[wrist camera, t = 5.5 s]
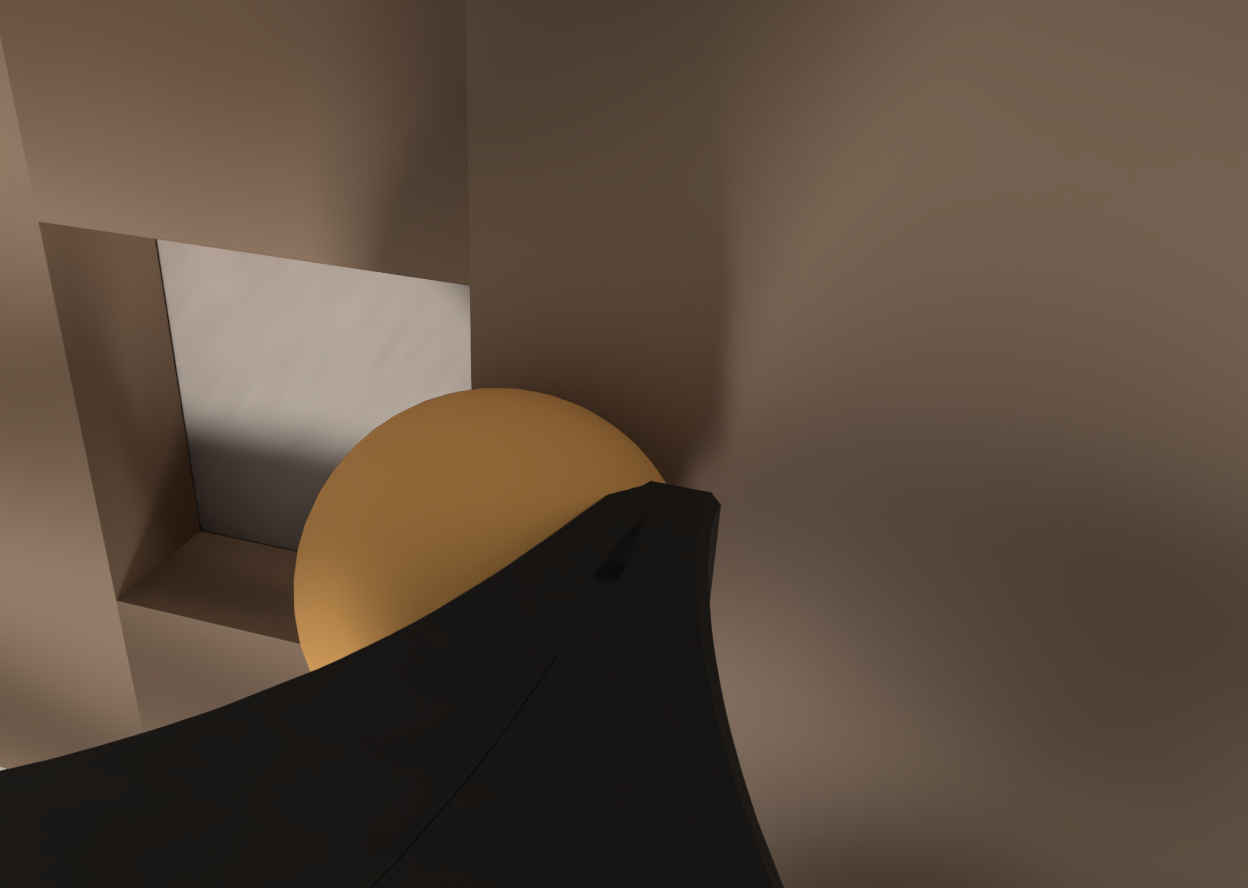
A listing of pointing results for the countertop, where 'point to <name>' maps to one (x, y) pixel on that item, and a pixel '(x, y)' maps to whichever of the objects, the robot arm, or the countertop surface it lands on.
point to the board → (704, 373)
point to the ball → (447, 508)
